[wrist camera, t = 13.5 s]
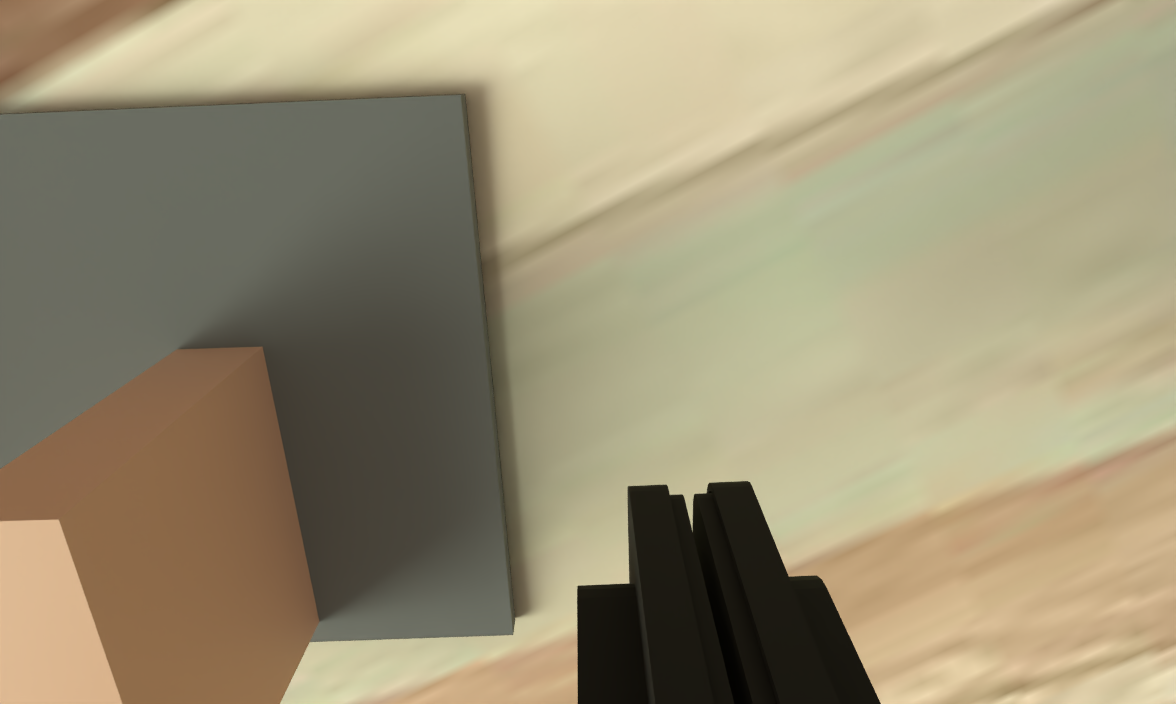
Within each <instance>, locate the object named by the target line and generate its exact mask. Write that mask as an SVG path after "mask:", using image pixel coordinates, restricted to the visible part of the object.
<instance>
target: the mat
mask: <svg viewBox="0 0 1176 704" xmlns="http://www.w3.org/2000/svg"><path fill="white" fill-rule="evenodd" d="M235 347H263V351H264V356H265V361H266V366H267V371H268V376H269V380H270V385H271V390H272V395H273V400H274V405H275V409H276V414H277V419H278V424H279V429H280V434H281V438H282V443H283V448H284V453H285V458H286V463H287V467H288V472H289V477H290V482H291V487H292V492H293V496H294V501H295V506H296V511H297V516H298V521H299V525H300V530H301V535H302V540H303V545H304V550H305V554H306V559H307V564H308V569H309V574H310V579H311V583H312V588H313V593H314V598H315V603H316V608H317V612H318V617H319V624H318V626H317V628H316V630H315V632H314V634H313V636H312V638H311V640H310V642H323V641H352V640H381V639H410V638H439V637H468V636H497V635H513V632H514V624H515V614H514V603H513V593H512V582H511V572H510V561H509V551H508V540H507V530H506V519H505V509H504V498H503V488H502V477H501V467H500V456H499V446H498V435H497V424H496V414H495V403H494V393H493V382H492V372H491V361H490V351H489V340H488V330H487V319H486V309H485V298H484V288H483V277H482V267H481V256H480V246H479V235H478V225H477V214H476V204H475V193H474V183H473V172H472V162H471V151H470V141H469V130H468V120H467V109H466V99H465V94H456V95H433V96H409V97H386V98H363V99H339V100H316V101H292V102H269V103H245V104H222V105H199V106H175V107H152V108H128V109H105V110H82V111H58V112H35V113H11V114H0V469H1V468H2V467H4V466H5V465H7V464H8V463H10V462H11V461H13V460H14V459H16V458H17V457H19V456H20V455H22V454H23V453H25V452H26V451H28V450H29V449H30V448H32V447H33V446H35V445H36V444H38V443H39V442H41V441H42V440H44V439H45V438H47V437H48V436H50V435H51V434H53V433H54V432H56V431H57V430H59V429H60V428H61V427H63V426H64V425H66V424H67V423H69V422H70V421H72V420H73V419H75V418H76V417H78V416H79V415H81V414H82V413H84V412H85V411H87V410H88V409H90V408H91V407H93V406H94V405H95V404H97V403H98V402H100V401H101V400H103V399H104V398H106V397H107V396H109V395H110V394H112V393H113V392H115V391H116V390H118V389H119V388H121V387H122V386H124V385H125V384H127V383H128V382H129V381H131V380H132V379H134V378H135V377H137V376H138V375H140V374H141V373H143V372H144V371H146V370H147V369H149V368H150V367H152V366H153V365H155V364H156V363H158V362H159V361H160V360H162V359H163V358H165V357H166V356H168V355H169V354H171V353H172V352H174V351H175V350H177V349H204V348H235Z"/></svg>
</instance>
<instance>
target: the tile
mask: <svg viewBox="0 0 1176 704" xmlns="http://www.w3.org/2000/svg"><path fill="white" fill-rule="evenodd" d="M318 624H319V617H318V612H317V608H316V603H315V598H314V593H313V588H312V583H311V579H310V574H309V569H308V564H307V559H306V554H305V550H304V545H303V540H302V535H301V530H300V525H299V521H298V516H297V511H296V506H295V501H294V496H293V492H292V487H291V482H290V477H289V472H288V467H287V463H286V458H285V453H284V448H283V443H282V438H281V434H280V429H279V424H278V419H277V414H276V409H275V405H274V400H273V395H272V390H271V385H270V380H269V376H268V371H267V366H266V361H265V356H264V351H263V347H235V348H204V349H177V350H175V351H174V352H172V353H171V354H169V355H168V356H166V357H165V358H163V359H162V360H160V361H159V362H158V363H156V364H155V365H153V366H152V367H150V368H149V369H147V370H146V371H144V372H143V373H141V374H140V375H138V376H137V377H135V378H134V379H132V380H131V381H129V382H128V383H127V384H125V385H124V386H122V387H121V388H119V389H118V390H116V391H115V392H113V393H112V394H110V395H109V396H107V397H106V398H104V399H103V400H101V401H100V402H98V403H97V404H95V405H94V406H93V407H91V408H90V409H88V410H87V411H85V412H84V413H82V414H81V415H79V416H78V417H76V418H75V419H73V420H72V421H70V422H69V423H67V424H66V425H64V426H63V427H61V428H60V429H59V430H57V431H56V432H54V433H53V434H51V435H50V436H48V437H47V438H45V439H44V440H42V441H41V442H39V443H38V444H36V445H35V446H33V447H32V448H30V449H29V450H28V451H26V452H25V453H23V454H22V455H20V456H19V457H17V458H16V459H14V460H13V461H11V462H10V463H8V464H7V465H5V466H4V467H2V468H1V469H0V704H280V702H281V700H282V698H283V696H284V694H285V692H286V690H287V688H288V685H289V683H290V681H291V679H292V677H293V675H294V673H295V671H296V669H297V667H298V665H299V663H300V661H301V659H302V657H303V655H304V652H305V650H306V648H307V646H308V644H309V642H310V640H311V638H312V636H313V634H314V632H315V630H316V628H317V626H318Z"/></svg>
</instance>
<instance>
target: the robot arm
mask: <svg viewBox="0 0 1176 704" xmlns="http://www.w3.org/2000/svg"><path fill="white" fill-rule="evenodd" d="M628 536H629V581H630V584H610V585H587V586H578V589H577V618H578V704H881V703H880V701H879V699H878V697H877V695H876V693H875V690H874V688H873V686H872V684H871V682H870V680H869V678H868V675H867V673H866V671H865V669H864V667H863V665H862V663H861V660H860V658H859V656H858V654H857V652H856V650H855V648H854V645H853V643H852V641H851V639H850V637H849V635H848V633H847V630H846V628H845V626H844V624H843V622H842V620H841V618H840V615H839V613H838V611H837V609H836V607H835V605H834V603H833V600H832V598H831V596H830V594H829V592H828V590H827V588H826V586H825V584H824V583H823V581H822V579H821V578H819V577H818V576H795V577H788V574H787V572H786V569H785V567H784V564H783V562H782V559H781V557H780V554H779V552H778V549H777V547H776V544H775V542H774V539H773V537H772V535H771V532H770V530H769V527H768V525H767V522H766V520H765V517H764V515H763V512H762V510H761V507H760V505H759V502H758V500H757V497H756V495H755V493H754V490H753V488H752V485H751V484H750V482H748V481H741V482H718V483H709V484H708V488H707V493H706V494H695V495H694V499H693V532H692V528H691V524H690V520H689V516H688V512H687V508H686V503H685V499H684V496H683V495H669V490H668V486H667V485H648V486H628Z"/></svg>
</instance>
